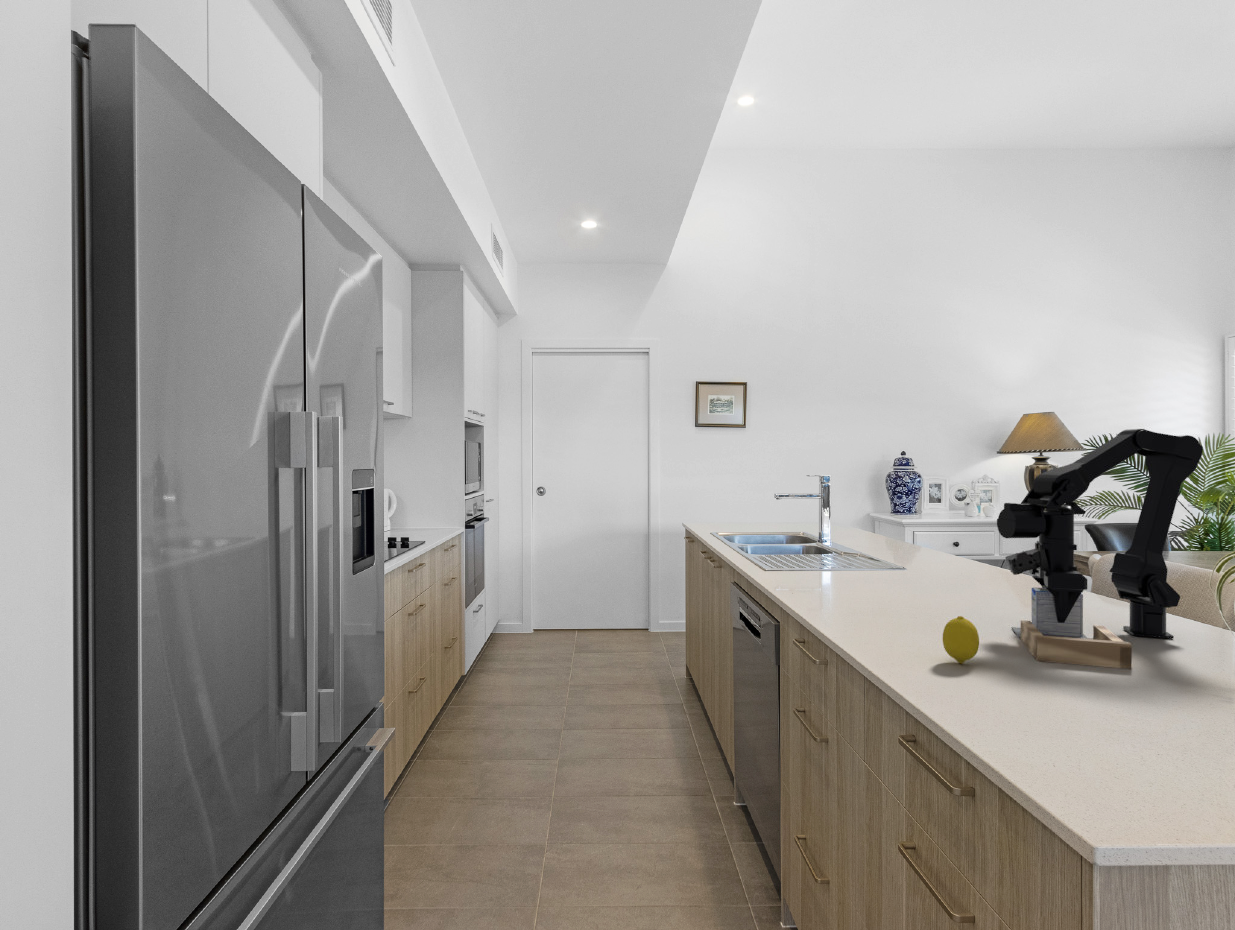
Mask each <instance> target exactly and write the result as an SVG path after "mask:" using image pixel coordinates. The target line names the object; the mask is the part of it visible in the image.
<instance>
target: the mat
mask: <svg viewBox="0 0 1235 930" xmlns="http://www.w3.org/2000/svg"><path fill="white" fill-rule="evenodd" d="M1010 628H1012V629H1013V630H1012V629H1011V630H1012V631H1013V633H1014V632H1015V633H1016V634H1015V633H1014V634H1015V635H1016V637H1017V636H1018V637H1019V638H1018V637H1017V638H1018V639H1021V627H1018V626H1017V627H1016V626H1011V627H1010ZM1083 638H1088V637H1087V636H1086V635H1085V634H1084V633H1083Z"/></svg>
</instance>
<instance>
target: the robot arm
mask: <svg viewBox="0 0 1235 930" xmlns="http://www.w3.org/2000/svg"><path fill="white" fill-rule="evenodd" d="M1203 451H1204V448H1203V445H1201V443H1200V441H1199V440H1198V439H1197V438H1196V437H1194V436H1192V435H1186V434H1185V435H1172V434H1166V433H1160V432H1155V431H1151V430H1147V429H1145V428H1134V429H1133V428H1131V429H1130V428H1129V429H1124V430H1122V431H1120V432H1119V433H1117V435H1116V436H1114V437H1113V438H1111V439H1109V440H1108V441H1105V443H1103V444H1101V445H1100V446H1098V447H1096V448H1095V449H1093V450H1092V451H1090V452H1087V454H1085V455H1084V456H1082V457H1080V458H1078V459H1077V460H1075V461H1073V462H1072V463H1069V464H1067V465H1063V466H1059V467H1055V468H1052V469H1048V470H1047V471H1045V472H1042V473H1039V474H1038V475H1037V476H1036V477H1035V478H1034V480H1033V485H1032V487H1031V488H1030V490H1029V491H1028V492H1027V494H1026V495H1025V497H1024V498H1023V500H1022V501H1021V502H1020V503H1016V502H1004V503H1003V509H1002V510H1001V511H1000V512H999V514H998V518H997V519H996V527H997V531H998V532H999V534H1000V536H1002V538H1004V539H1035V538H1038V540H1037V541H1036V542H1034V548H1033V549H1028V550H1025V551H1024V550H1023V551H1020V552H1016V553H1013V554H1010V555H1007V556H1005V557H1004V558H1005V561H1006V563H1007V566H1008V568H1009V571H1010V573H1012V575H1021V574H1023V573H1024V572H1028V571H1029V572H1028V573H1029V574H1031V578H1033V580H1035V582H1037V583H1038V584H1039V585H1040V586H1041V588H1046V589H1047V590H1048V591H1049V592H1050V593H1051V594H1052V597H1053V602H1054V607H1055V613H1056V618H1057V622H1059V623H1064V622H1065V621H1066V619H1067V617H1068V615H1069V613H1070V611H1071V610H1072V608H1073V606H1074V604H1075V603H1076V601H1077V599H1078V598H1079V596H1080V594H1081V593H1082V594H1083V592H1084V591H1085V590H1086V591H1087V590H1088V578H1086V577H1085V576H1084V575H1083V573H1081V572H1079V571H1078V570H1077V569H1078V568H1077V566H1076V565H1075V551H1078V550H1077V548H1078V544H1075V515H1085V514H1086V511H1085V510H1084V509H1083V508H1082V507H1080V505H1078V503H1077V502H1076V501H1077V500H1079V498H1080V497H1081V496H1082V495H1083V494H1085V493H1086V492H1087V491H1088V489H1089V486H1090V485H1091V483H1092V482H1093V481H1095V479H1098V477H1100V476H1102V475H1104V474H1105V473H1107V472H1108V471H1110V470H1112V469H1113V468H1115V467H1116V466H1118V465H1120V464H1121V463H1123V462H1124V461H1126V460H1127V459H1130V458H1131V457H1132V456H1135V454H1136V455H1139V456H1142V457H1144V458H1145V461H1144V463H1145V464H1144V465H1145V466H1146V470H1147V472H1148V473H1147V474H1149V475H1148V476H1149V480H1148V483H1147V484H1148V486H1147V488H1146V492H1145V495H1144V499H1143V502H1142V506H1141V510H1140V514H1139V516H1138V521H1137V524H1136V529H1135V530H1134V531H1135V532H1134V535H1133V538H1132V541H1131V542H1132V543H1131V546H1130V548H1128V549H1127V550H1126V551H1125V552H1124V553H1123V552H1115V555H1114V556H1113V563H1112V566H1111V568H1110V569H1109V572H1110V573H1111V578H1110V579H1111V582H1112V583H1113V585H1114V587H1115V589H1116V591H1117V594H1118V597H1119V599H1123V600H1128V601H1129V625H1128V626H1127V625H1123V627H1122V629H1123V630H1124V631H1126V632H1128V633H1129V634H1131V635H1132V636H1135V637H1136V636H1137V637H1147V638H1149V637H1150V638H1162V639H1174V635H1173V634H1171V633H1169V632H1168V631H1167V608H1174V607H1178V606H1179V603H1180V599H1181V595H1180V594H1179V593H1178V592H1177V591H1176V590H1175V589H1174V588H1173V587H1172V586H1171V585H1170V584H1169V583H1168V582H1167V580H1168V579H1167V578H1168V567H1167V564H1166V562H1165V558H1164V555H1163V553H1164V548H1165V544H1166V541H1167V538H1168V534H1169V531H1170V526H1171V523H1172V520H1173V517H1174V513H1175V509H1176V506H1177V501H1178V498H1179V494H1180V491H1181V487H1182V485H1183V482H1185V480H1186V479H1188V478H1189V477H1190V476H1191V475H1192V474H1193V473H1194V472H1195V471H1196V469H1197V467H1198V465H1199V462H1200V460H1201V459H1202V456H1203Z"/></svg>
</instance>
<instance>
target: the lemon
mask: <svg viewBox="0 0 1235 930" xmlns="http://www.w3.org/2000/svg"><path fill="white" fill-rule="evenodd" d="M942 631H943V632H942V645H943V649H944V651H945V652H946V653H947V655H948V656H950V658H953V659H954V660H956V662H957V663H958V664H961V665H963V664H964V663H966V661H970V660H971V659H973V658H975V656H976V655H977V653H978V651H979V648H980V647H979V646H980V636H979V633H978V629H977V628H976V626H975V624H974V623H972V622H971V621H970V620H969V619H966V618H965V617H964V616H962V615H960V616H957V617H956V618H953V619H951V620H949V621H948V622H946V624H945V626H944V628H943V630H942Z"/></svg>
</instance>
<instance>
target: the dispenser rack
mask: <svg viewBox="0 0 1235 930" xmlns="http://www.w3.org/2000/svg"><path fill="white" fill-rule="evenodd" d="M1092 626H1093V627H1092V628H1093V630H1092V632H1093V634H1092V635H1093V636H1092V638H1091V637H1087V638H1083V637H1070V636H1056V635H1043V634H1041V633H1040V631H1039V630H1038V629H1037V628H1036V627H1035V626H1034V625H1033V624H1032V620H1023V619H1021V620H1020V628H1021V638H1020V640H1021V639H1022V640H1021V641H1022V642H1023V644H1024V643H1025V644H1024V645H1025V647H1026V648H1027V649H1028V651H1029V652H1030V653H1031V654H1032V656H1033V657H1034V658H1035V660H1036V661H1038V662H1049V663H1061V664H1068V665H1069V664H1070V665H1071V664H1072V665H1083V666H1091V667H1092V666H1093V667H1104V668H1107V667H1108V668H1115V669H1116V668H1118V669H1129V670H1130V669H1131V670H1132V668H1133V667H1132V666H1133V665H1132V660H1133V659H1132V657H1133V656H1132V647H1133V646H1132V643H1130V642H1129V641H1124V640H1123V639H1121V638H1120V637H1119V636H1117V635H1116V634H1114V633H1113V632H1112V631H1111V630H1109V629H1108V628H1107V627H1106V626H1105V625H1095V624H1094V625H1092Z"/></svg>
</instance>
